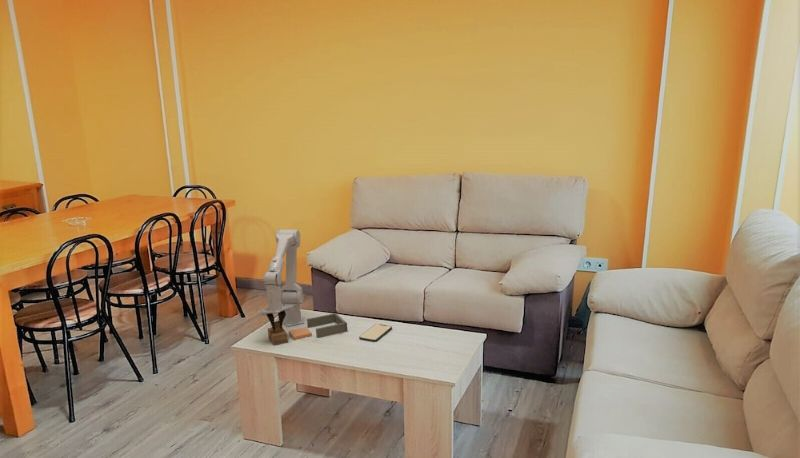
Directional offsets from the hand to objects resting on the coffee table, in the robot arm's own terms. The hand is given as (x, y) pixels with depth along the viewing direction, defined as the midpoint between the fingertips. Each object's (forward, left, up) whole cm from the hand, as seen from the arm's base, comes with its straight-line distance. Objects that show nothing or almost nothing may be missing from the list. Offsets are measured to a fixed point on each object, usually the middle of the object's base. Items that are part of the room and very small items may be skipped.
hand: (277, 328), depth 255 cm
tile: (0, +10, -6) cm, 11 cm away
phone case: (+16, +39, -6) cm, 43 cm away
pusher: (0, 0, -5) cm, 5 cm away
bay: (0, +22, -5) cm, 23 cm away
